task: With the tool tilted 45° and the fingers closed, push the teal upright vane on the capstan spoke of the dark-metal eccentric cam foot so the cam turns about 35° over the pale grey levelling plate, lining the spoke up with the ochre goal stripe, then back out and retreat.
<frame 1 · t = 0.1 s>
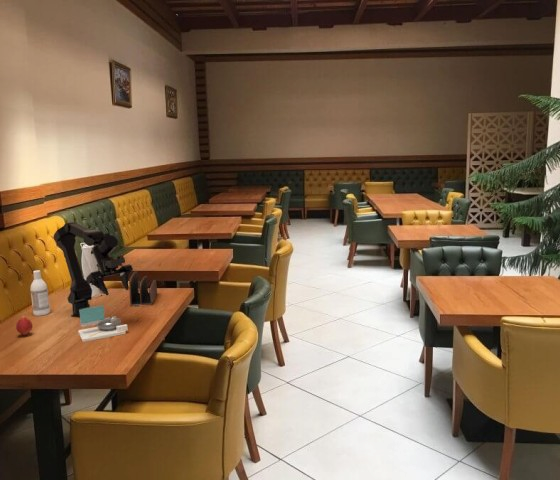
hand: (117, 292, 208), 15 cm above the table, tool tilted 30°, fingers open, 9 cm apart
levelling plate: (113, 329, 209), on the table
skyscraper: (93, 296, 262), on the table
cam foot: (100, 316, 205), point 6 cm above the table, hinge at 0.0°
letter holder: (144, 301, 250), on the table
onion: (25, 335, 206), on the table
bath foam: (41, 314, 234), on the table
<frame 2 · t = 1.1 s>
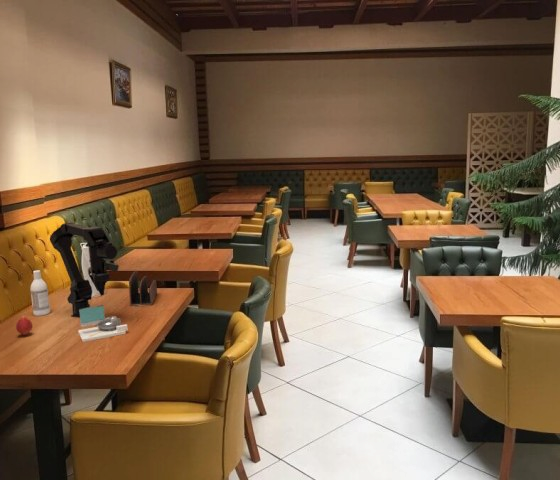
hand: (100, 292, 220), 12 cm above the table, tool pointing down, fingers open, 8 cm apart
nothing on the table moved.
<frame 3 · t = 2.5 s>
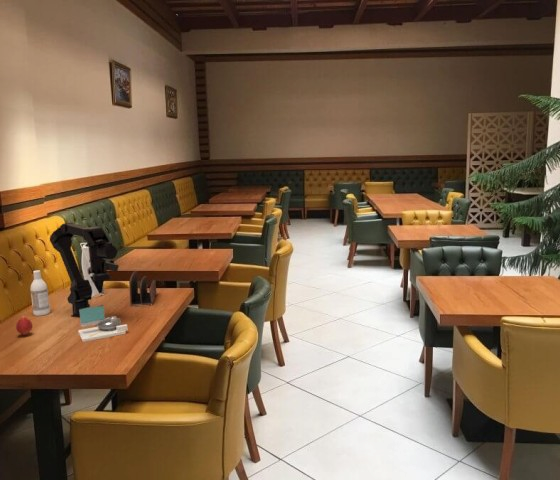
hand: (100, 292, 220), 12 cm above the table, tool pointing down, fingers closed
nothing on the table moved.
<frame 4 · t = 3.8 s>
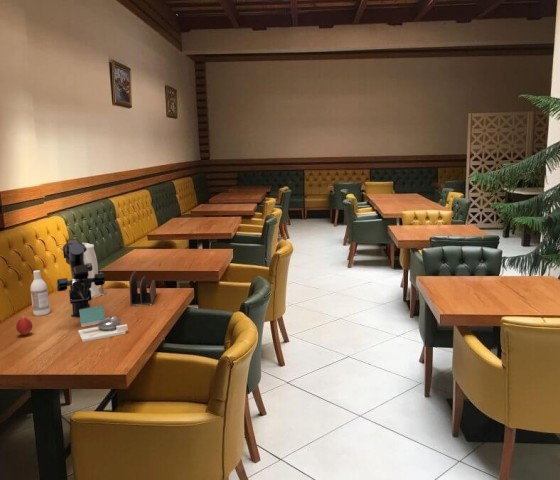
hand: (85, 299, 210), 12 cm above the table, tool tilted 45°, fingers closed
nothing on the table moved.
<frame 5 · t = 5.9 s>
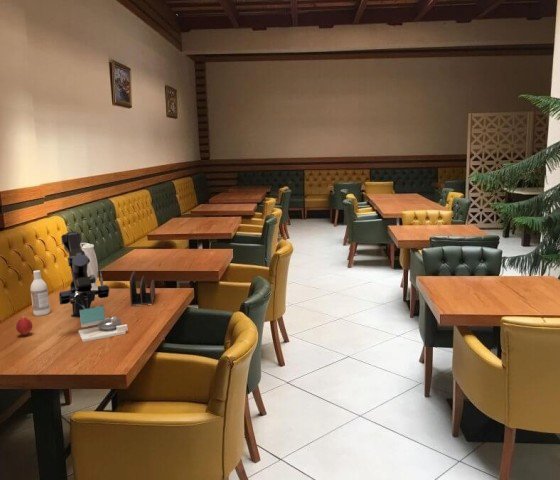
hand: (88, 312, 203), 9 cm above the table, tool tilted 45°, fingers closed, pressing on cam foot
cam foot: (100, 316, 205), point 6 cm above the table, hinge at 3.8°, touching gripper
everything else where it was.
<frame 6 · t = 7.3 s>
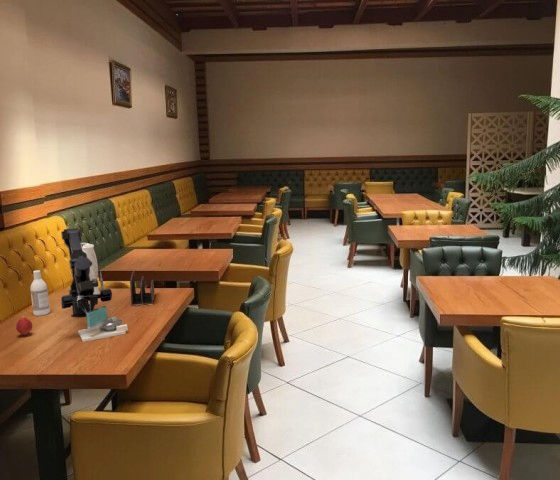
hand: (91, 316, 199), 8 cm above the table, tool tilted 45°, fingers closed
cam foot: (103, 318, 204), point 6 cm above the table, hinge at 33.1°, touching gripper
everything else where it was.
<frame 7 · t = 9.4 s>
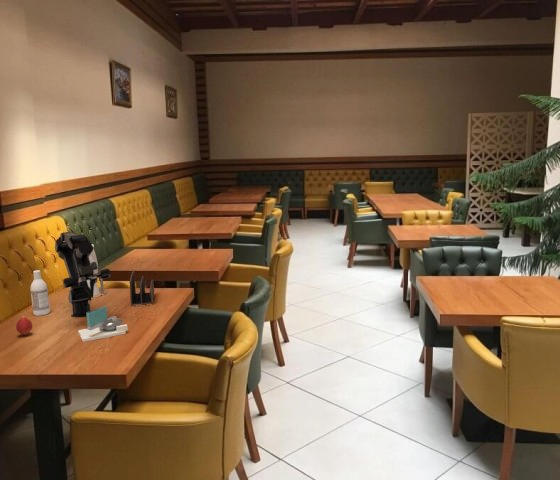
hand: (92, 297, 214), 12 cm above the table, tool tilted 30°, fingers closed
cam foot: (103, 318, 204), point 6 cm above the table, hinge at 33.1°
everything else where it was.
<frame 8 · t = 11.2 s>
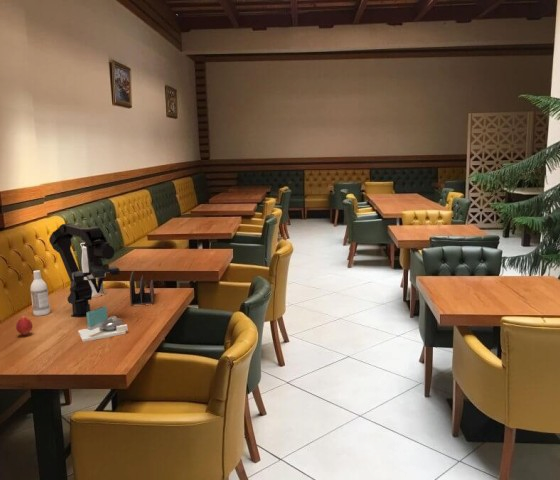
hand: (98, 292, 220), 12 cm above the table, tool pointing down, fingers closed
nothing on the table moved.
at the end: cam foot at +33° (first picture: +0°) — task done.
